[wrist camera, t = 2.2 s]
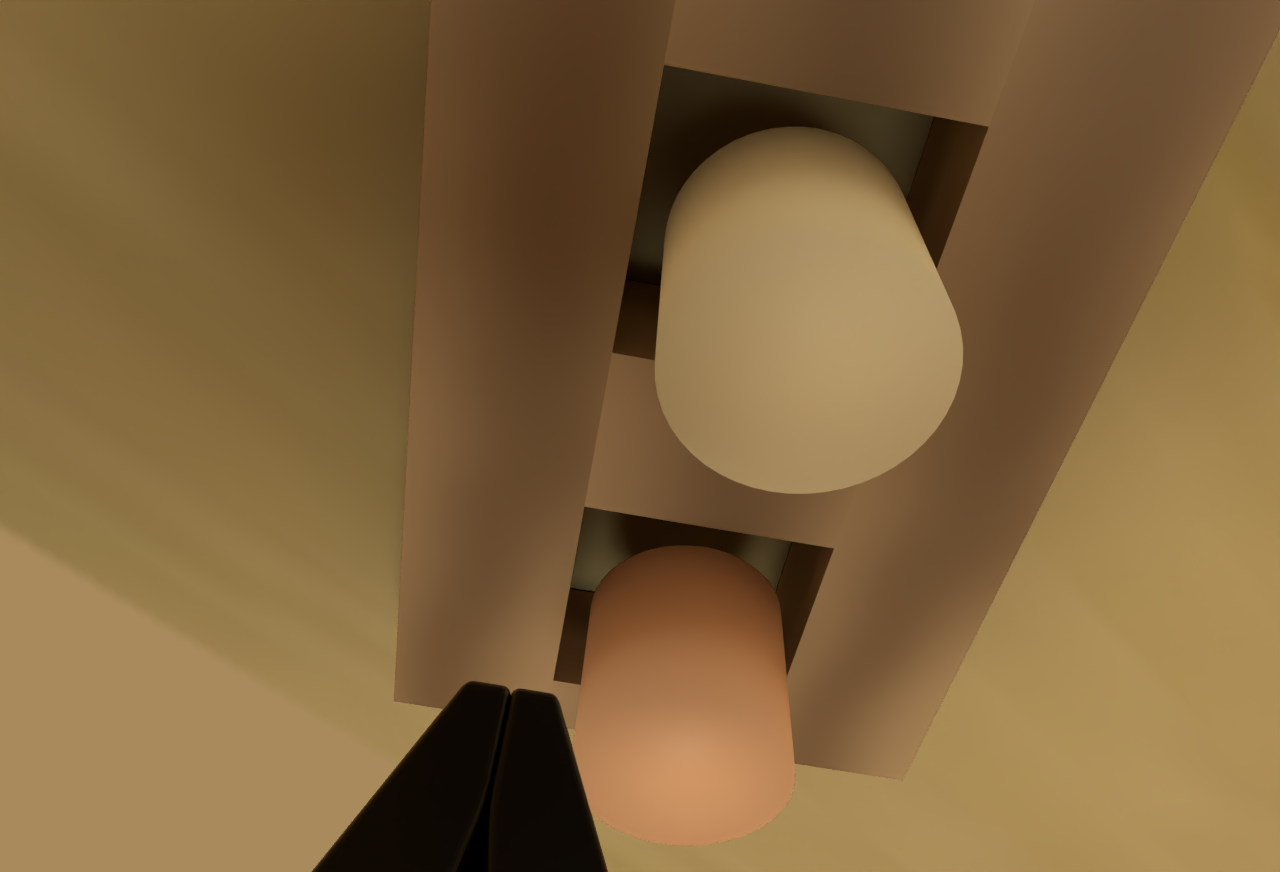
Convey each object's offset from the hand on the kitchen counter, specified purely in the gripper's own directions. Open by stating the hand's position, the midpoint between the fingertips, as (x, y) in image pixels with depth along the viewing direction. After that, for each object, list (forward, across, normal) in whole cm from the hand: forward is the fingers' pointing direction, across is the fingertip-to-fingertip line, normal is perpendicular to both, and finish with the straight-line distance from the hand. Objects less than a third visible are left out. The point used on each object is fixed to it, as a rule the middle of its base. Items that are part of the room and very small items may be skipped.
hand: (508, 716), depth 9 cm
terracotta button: (+9, -3, +8) cm, 12 cm away
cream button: (+10, -3, -1) cm, 10 cm away
